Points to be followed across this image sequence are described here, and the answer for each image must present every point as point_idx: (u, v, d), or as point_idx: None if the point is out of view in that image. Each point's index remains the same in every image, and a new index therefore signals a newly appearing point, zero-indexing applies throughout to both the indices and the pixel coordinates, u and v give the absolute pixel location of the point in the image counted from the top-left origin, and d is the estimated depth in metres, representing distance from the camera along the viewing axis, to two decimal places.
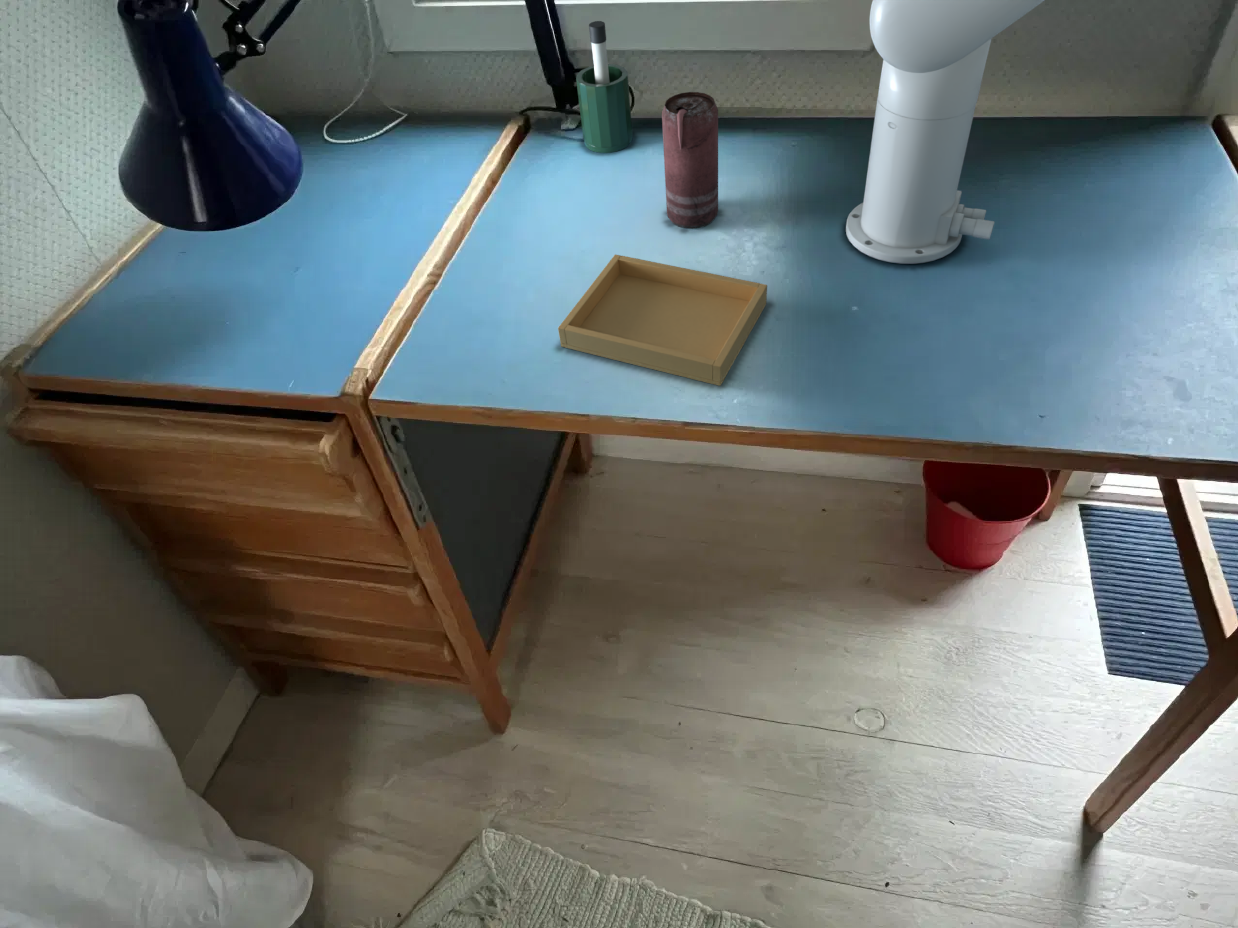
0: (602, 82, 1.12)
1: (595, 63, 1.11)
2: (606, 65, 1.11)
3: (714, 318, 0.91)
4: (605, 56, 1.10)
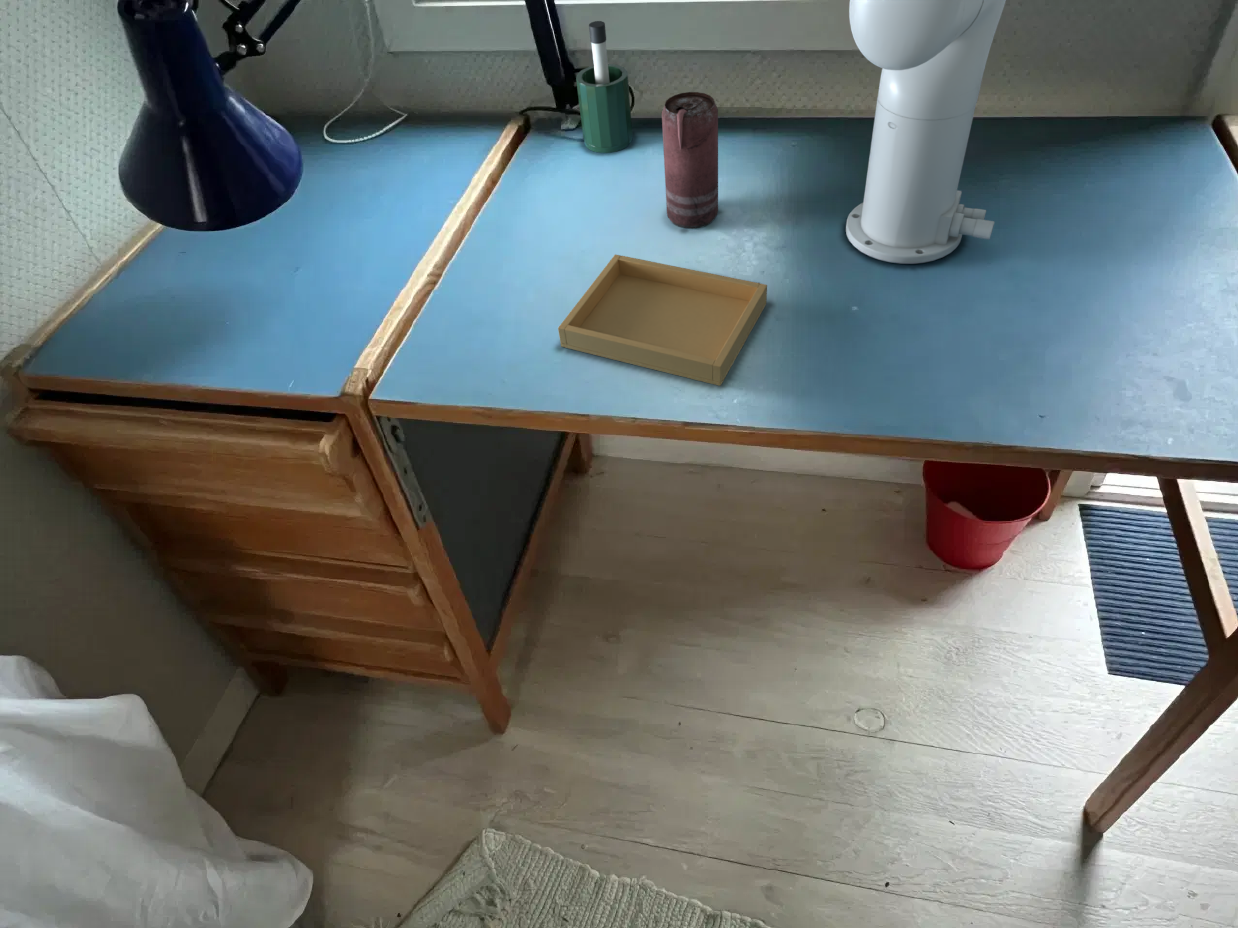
0: (602, 82, 1.12)
1: (595, 63, 1.11)
2: (606, 65, 1.11)
3: (714, 318, 0.91)
4: (605, 56, 1.10)
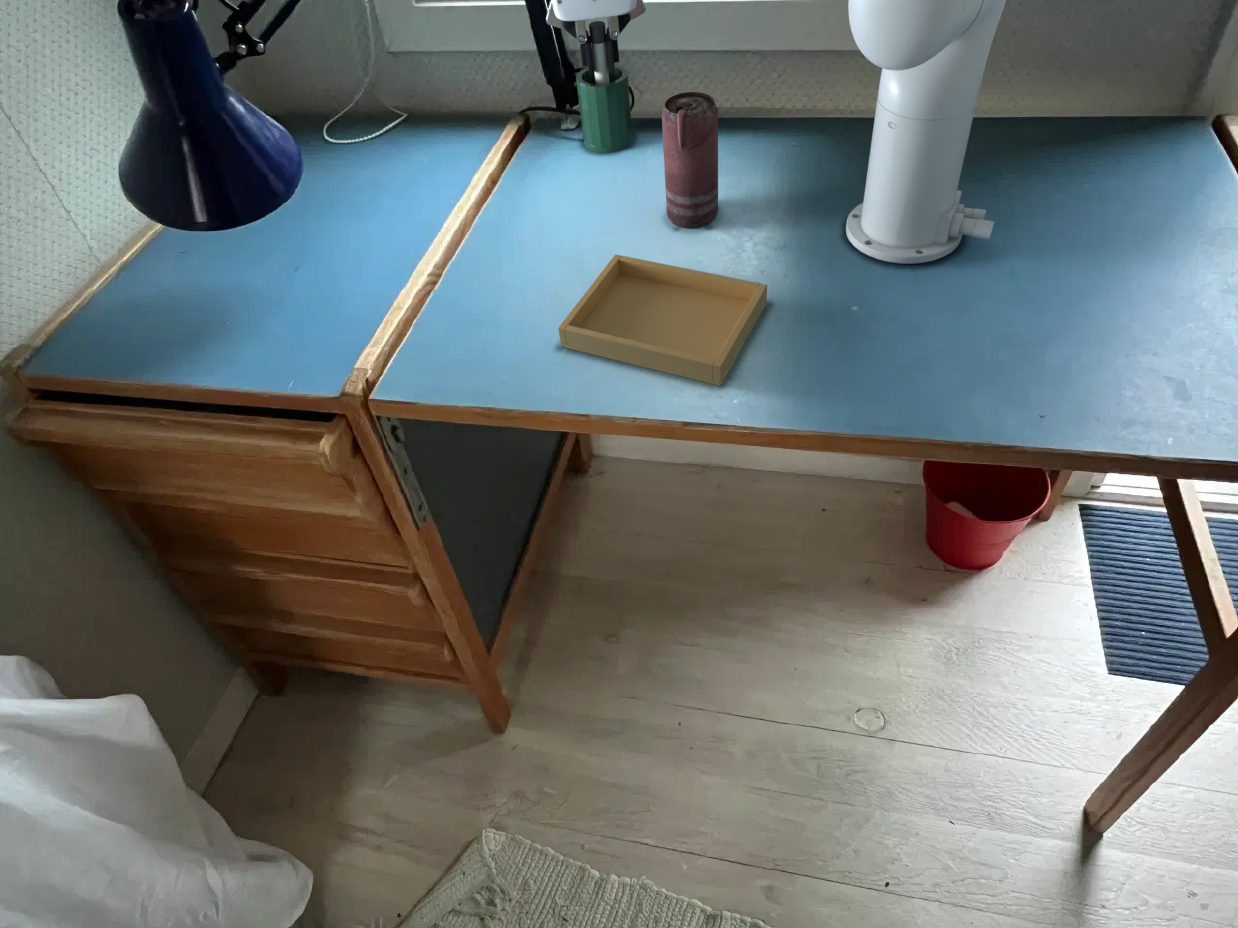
0: (602, 82, 1.12)
1: (595, 63, 1.11)
2: (606, 65, 1.11)
3: (714, 318, 0.91)
4: (605, 56, 1.10)
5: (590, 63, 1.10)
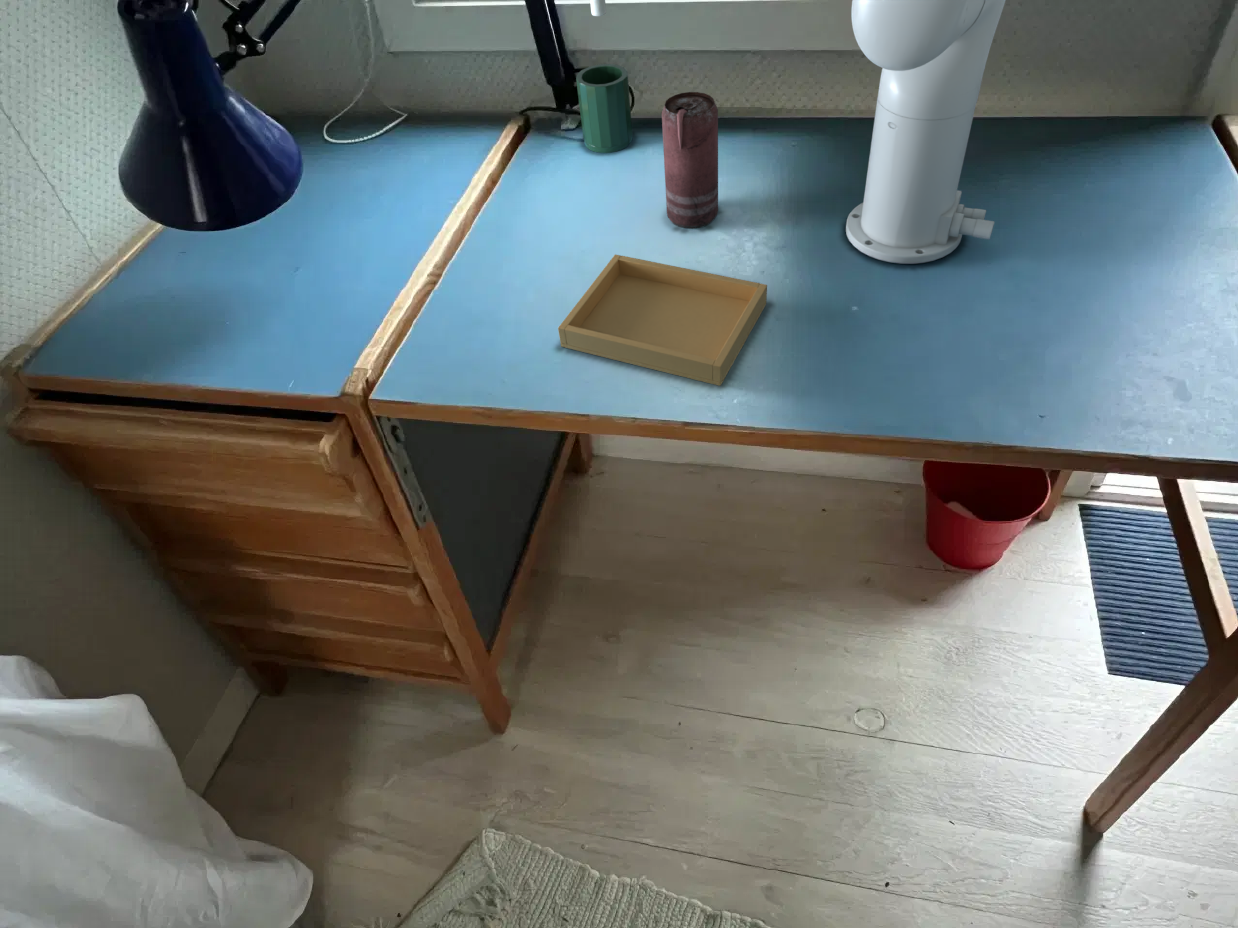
0: None
1: None
2: None
3: (714, 318, 0.91)
4: None
5: None
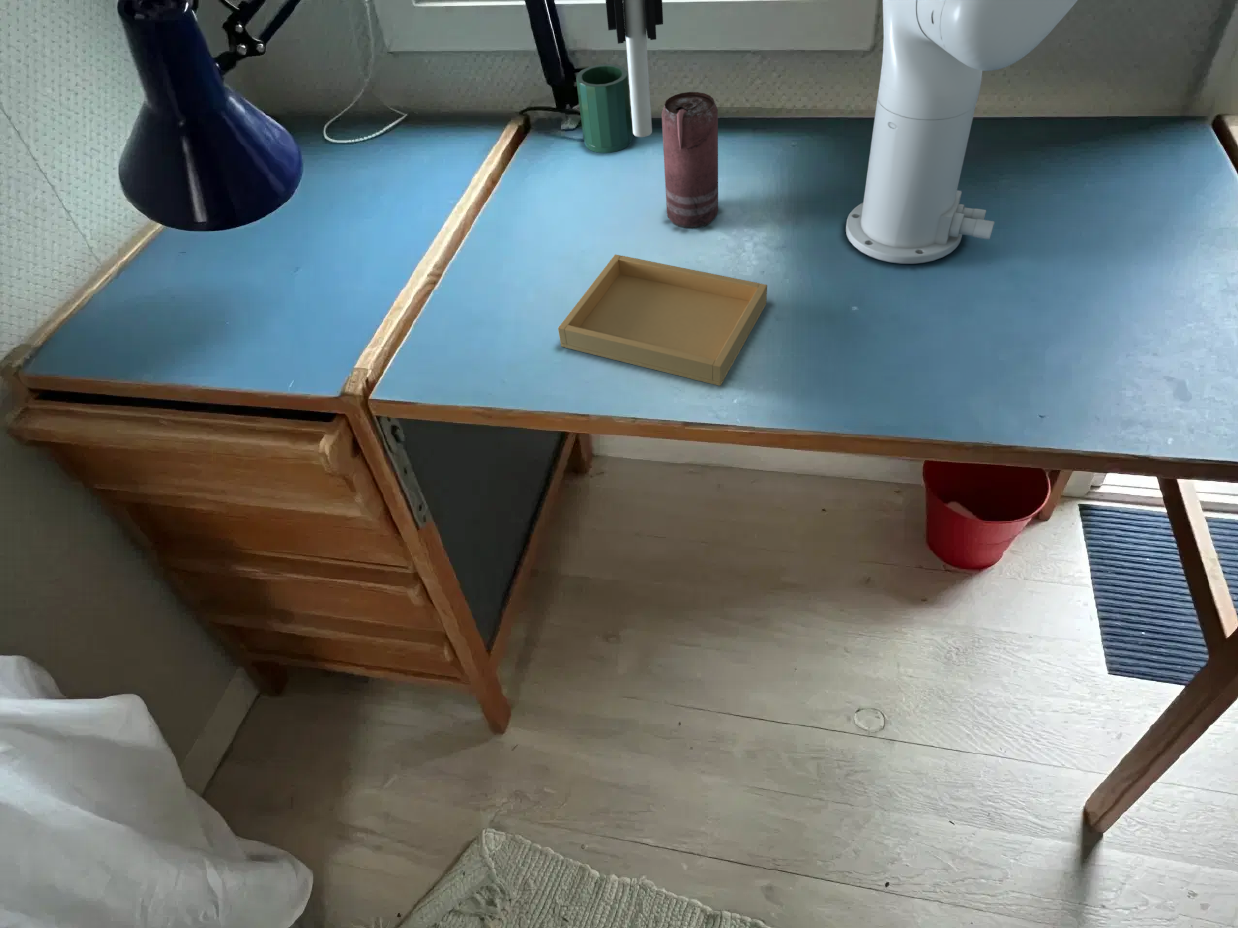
0: (637, 54, 0.76)
1: (627, 25, 0.75)
2: (643, 28, 0.75)
3: (714, 318, 0.91)
4: (642, 15, 0.74)
5: (620, 25, 0.74)
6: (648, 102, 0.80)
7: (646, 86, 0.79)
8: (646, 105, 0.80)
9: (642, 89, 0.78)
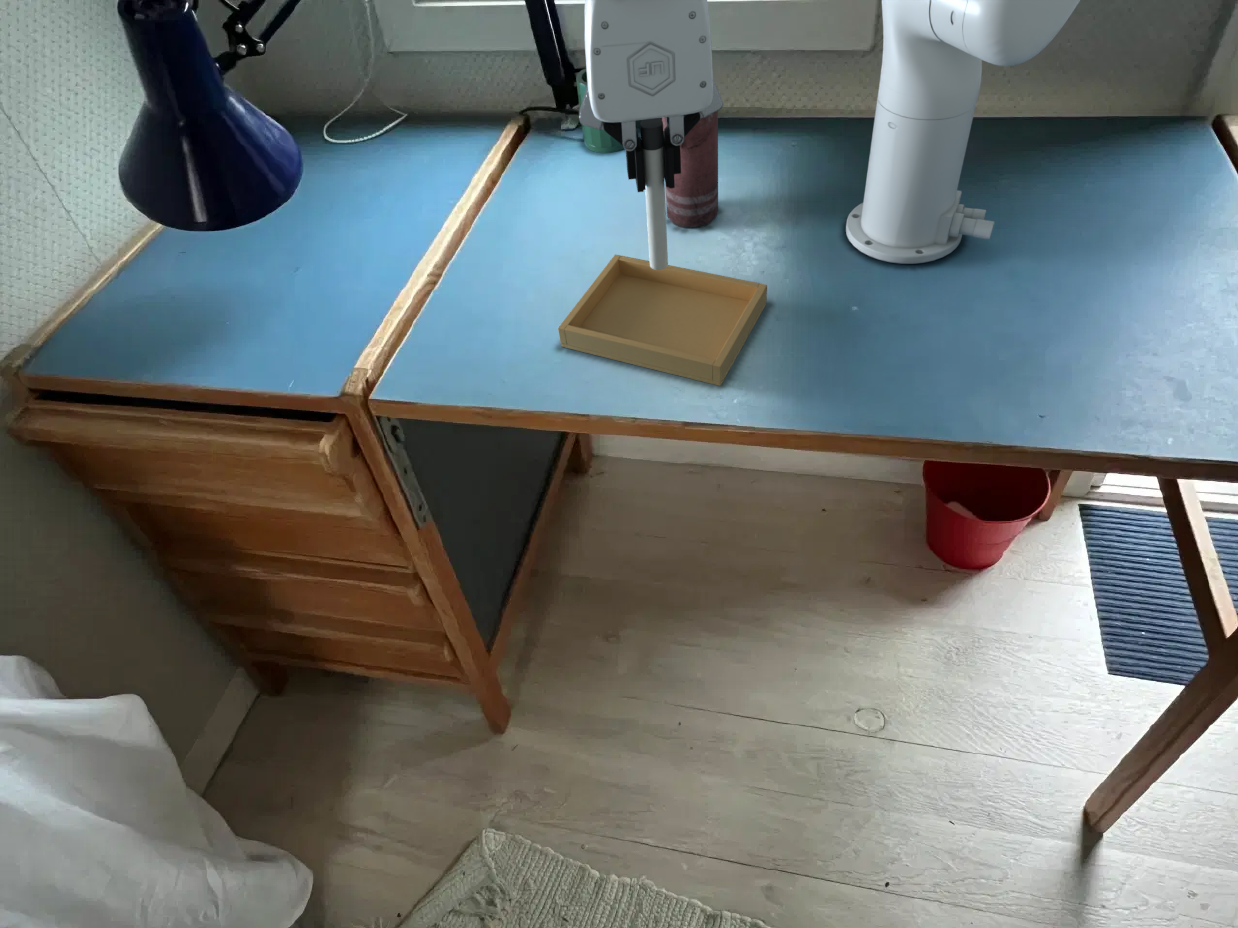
0: (655, 200, 0.79)
1: (647, 175, 0.78)
2: (662, 177, 0.78)
3: (714, 318, 0.91)
4: (661, 166, 0.77)
5: (640, 176, 0.77)
6: (665, 240, 0.83)
7: (664, 227, 0.82)
8: (663, 242, 0.83)
9: (660, 229, 0.82)
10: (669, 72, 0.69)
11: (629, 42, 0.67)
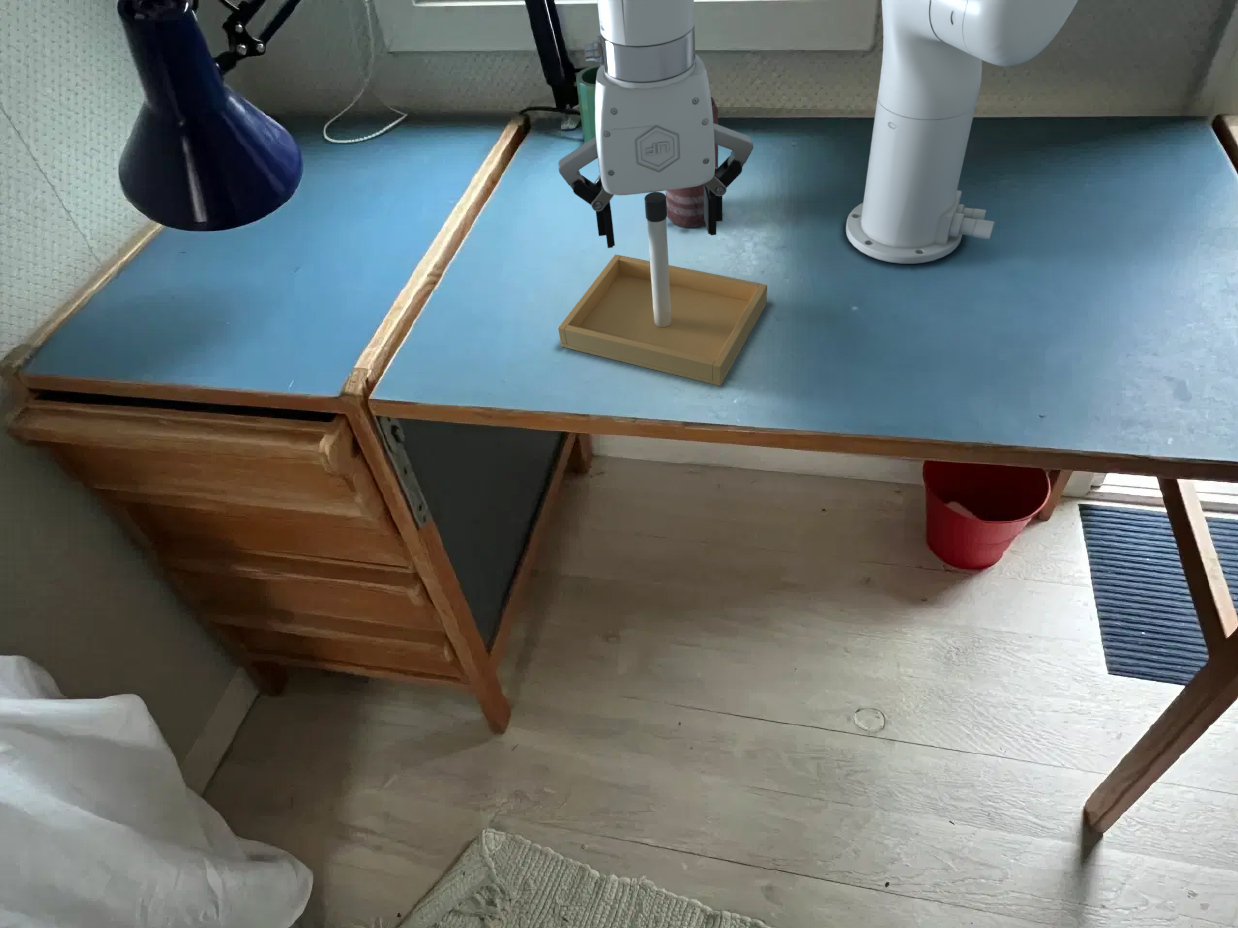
0: (659, 265, 0.85)
1: (651, 243, 0.83)
2: (665, 245, 0.84)
3: (714, 318, 0.91)
4: (665, 235, 0.83)
5: (609, 234, 0.81)
6: (668, 300, 0.88)
7: (667, 288, 0.87)
8: (667, 302, 0.88)
9: (663, 291, 0.87)
10: (674, 151, 0.74)
11: (637, 125, 0.72)
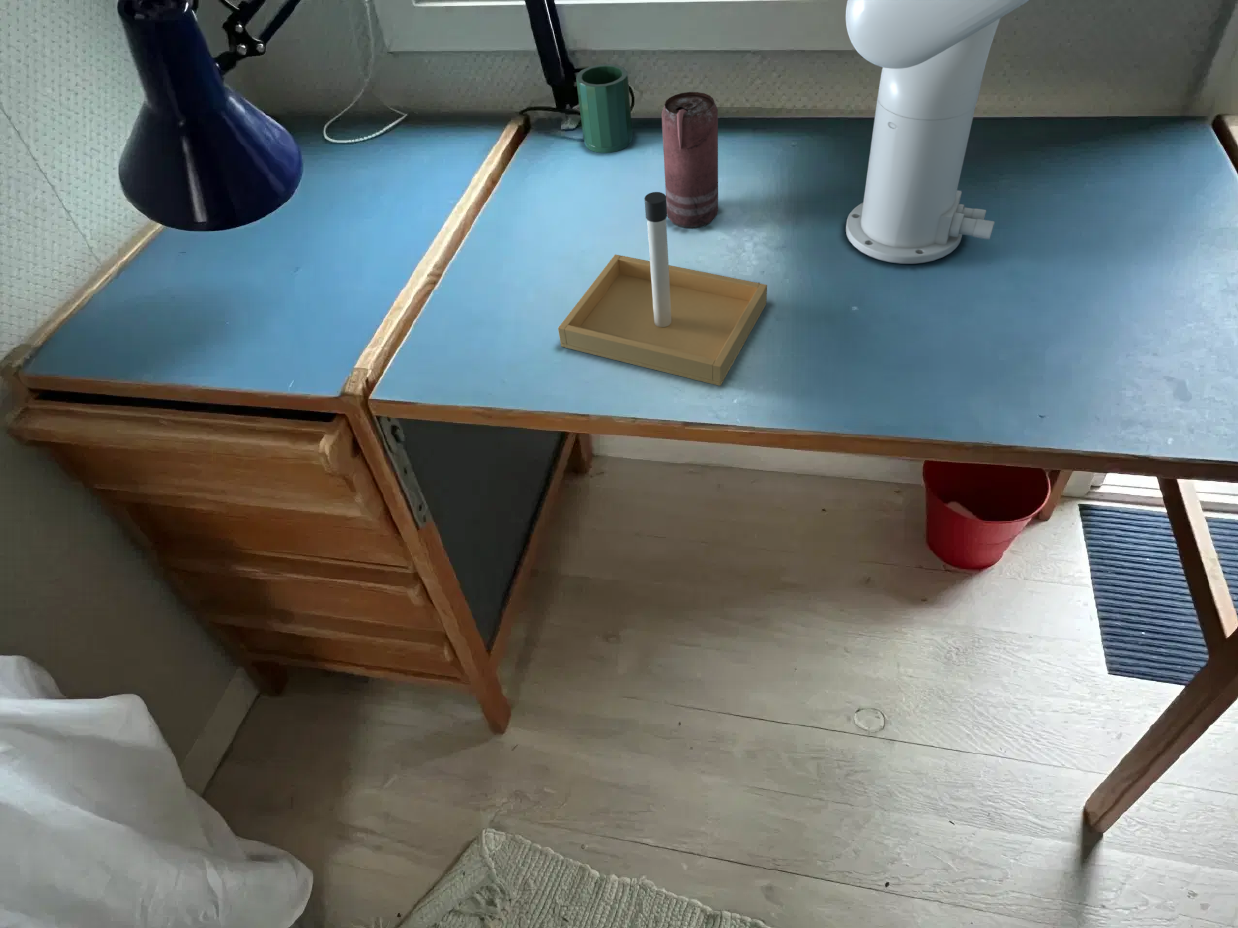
0: (659, 265, 0.85)
1: (651, 243, 0.83)
2: (665, 245, 0.84)
3: (714, 318, 0.91)
4: (665, 235, 0.83)
5: None
6: (668, 300, 0.88)
7: (667, 288, 0.87)
8: (667, 302, 0.88)
9: (663, 291, 0.87)
10: None
11: None
